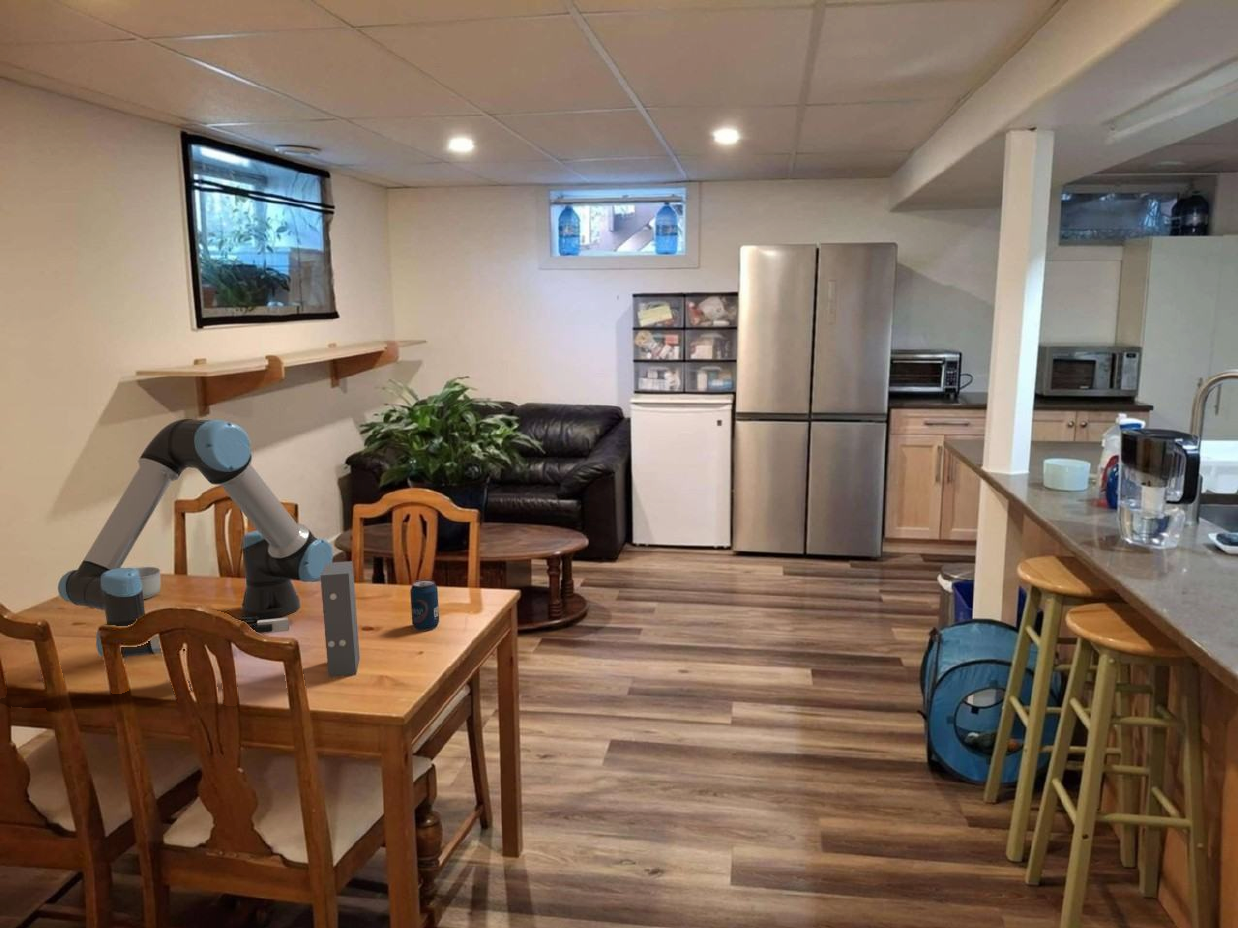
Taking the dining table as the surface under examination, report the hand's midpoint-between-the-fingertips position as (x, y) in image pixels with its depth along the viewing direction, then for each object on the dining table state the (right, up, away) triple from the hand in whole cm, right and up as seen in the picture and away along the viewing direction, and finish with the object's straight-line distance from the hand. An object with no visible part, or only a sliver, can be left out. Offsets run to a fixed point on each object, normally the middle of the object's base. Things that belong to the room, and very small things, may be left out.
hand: (288, 624), depth 200 cm
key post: (+11, -11, +4) cm, 16 cm away
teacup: (-66, -3, +58) cm, 88 cm away
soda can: (+25, -6, +30) cm, 40 cm away
